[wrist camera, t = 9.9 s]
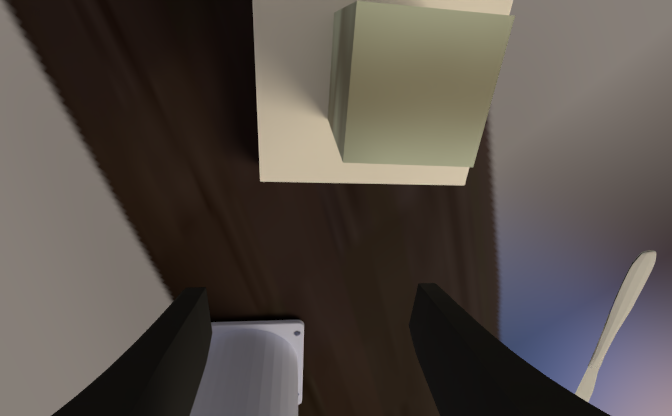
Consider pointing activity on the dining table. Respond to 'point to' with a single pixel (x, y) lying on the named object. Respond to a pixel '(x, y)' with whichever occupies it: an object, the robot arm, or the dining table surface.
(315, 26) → the base block
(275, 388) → the robot arm
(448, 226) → the dining table surface
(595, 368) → the butter knife
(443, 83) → the stacking block
